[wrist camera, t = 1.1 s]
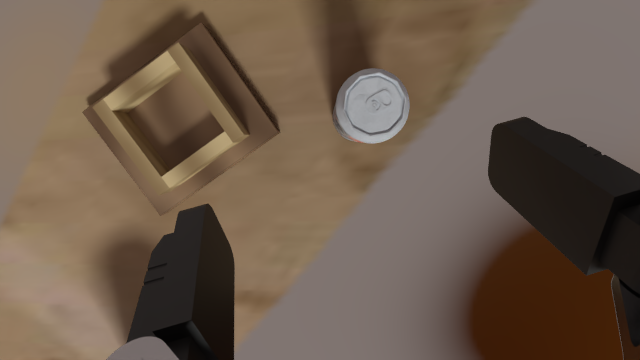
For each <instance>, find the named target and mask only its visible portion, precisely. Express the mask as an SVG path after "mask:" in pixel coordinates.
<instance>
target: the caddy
mask: <svg viewBox="0 0 640 360" xmlns="http://www.w3.org/2000/svg"><path fill="white" fill-rule="evenodd" d="M82 113H83V114H84V115H85V117H86V118H87V119H88V121H89V122H90V123H91V125H92V126H93V127H94V128H95V130H96V131H97V132H98V134H99V135H100V136H101V138H102V139H103V140H104V142H105V143H106V144H107V146H108V147H109V148H110V150H111V151H112V152H113V154H114V155H115V156H116V158H117V159H118V160H119V162H120V163H121V164H122V166H123V167H124V168H125V170H126V171H127V172H128V174H129V175H130V176H131V177H132V179H133V180H134V181H135V183H136V184H137V185H138V187H139V188H140V189H141V191H142V192H143V193H144V195H145V196H146V197H147V199H148V200H149V201H150V203H151V204H152V205H153V207H154V208H155V209H156V211H157V212H158V213H159V215H160V216H161V215H163V214H165V213H167V212H168V211H170V210H171V209H173V208H174V207H176V206H177V205H178V204H180V203H181V202H183V201H184V200H185V199H187V198H188V197H190V196H191V195H192V194H194V193H195V192H197V191H198V190H200V189H201V188H202V187H204V186H205V185H207V184H208V183H209V182H211V181H212V180H214V179H215V178H216V177H218V176H219V175H221V174H222V173H224V172H225V171H226V170H228V169H229V168H231V167H232V166H233V165H235V164H236V163H238V162H239V161H240V160H242V159H243V158H245V157H246V156H248V155H249V154H250V153H252V152H253V151H255V150H256V149H257V148H259V147H260V146H262V145H263V144H264V143H266V142H267V141H269V140H270V139H272V138H273V137H274V136H276V135H277V134H279V133H280V132H279V130H278V129H277V128H276V126H275V125H274V123H273V122H272V120H271V119H270V118H269V116H268V115H267V113H266V112H265V110H264V109H263V108H262V106H261V105H260V103H259V102H258V100H257V99H256V98H255V96H254V95H253V93H252V92H251V90H250V89H249V88H248V86H247V85H246V83H245V82H244V80H243V79H242V78H241V76H240V75H239V73H238V72H237V70H236V69H235V68H234V66H233V65H232V63H231V62H230V60H229V59H228V58H227V56H226V55H225V53H224V52H223V50H222V49H221V48H220V46H219V45H218V43H217V42H216V40H215V39H214V38H213V36H212V35H211V33H210V32H209V30H208V29H207V28H206V26H205V25H204V24H203V23H202V22H201V23H199V24H198V25H197V26H195V27H194V28H193V29H191V30H190V31H189V32H187V33H186V34H185V35H183V36H182V37H181V38H179V39H178V40H177V41H176V42H174V43H173V44H172V45H170V46H169V47H168V48H166V49H165V50H164V51H162V52H161V53H160V54H158V55H157V56H156V57H154V58H153V59H152V60H150V61H149V62H148V63H146V64H145V65H144V66H142V67H141V68H140V69H139V70H137V71H136V72H135V73H133V74H132V75H131V76H129V77H128V78H127V79H125V80H124V81H123V82H121V83H120V84H119V85H117V86H116V87H115V88H113V89H112V90H111V91H109V92H108V93H107V94H105V95H104V96H103V97H101V98H100V99H99V100H98V101H96V102H95V103H94V104H92V105H91V106H90V107H88V108H87V109H86V110H84V111H83V112H82Z"/></svg>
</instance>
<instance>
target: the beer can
mask: <svg viewBox="0 0 640 360" xmlns="http://www.w3.org/2000/svg"><path fill="white" fill-rule="evenodd" d="M409 108H410V104H409V96H408V93H407V90H406V88H405V86H404V85H403V83H402V82H401V81H400V80H399V79H398V78H397V77H396V76H395V75H394V74H392V73H390V72H388V71H385V70H382V69H376V68H370V69H364V70H361V71H359V72H357V73H355V74H353V75H352V76H350V77H349V78H348V79H347V80H346V81H345V82H344V83H343V85H342V86H341V88H340V90H339V92H338V95H337V100H336V104H335V107H334V110H333V123H334V125H335V128H336V129H337V131H338V132H339V134H340V135H341V136H343V137H344V138H346V139H348V140H351V141H355V142H362V143H379V142H383V141H386V140H388V139H390V138H391V137H393V136H394V135H396V134H397V133H398V132H399V131H400V130H401V129H402V127H403V126H404V124H405V122H406V120H407V118H408V113H409Z"/></svg>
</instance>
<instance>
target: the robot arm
mask: <svg viewBox="0 0 640 360" xmlns="http://www.w3.org/2000/svg"><path fill="white" fill-rule="evenodd" d="M488 176H489V180H490V183H491V185H492V187H493V188H494V190H495V191H496V192H497V193H498V194H499V195H500V196H501V197H502V198H503V199H504V200H506V201H507V202H508V203H509V204H510V205H511V206H512V207H513V208H514V209H515V210H516V211H518V212H519V213H520V214H521V215H522V216H523V217H524V218H525V219H526V220H527V221H528V222H529V223H530V224H531V225H532V226H534V227H535V228H536V229H537V230H538V231H539V232H540V233H541V234H542V235H543V236H544V237H545V238H547V239H548V240H549V241H550V242H551V243H552V244H553V245H554V246H555V247H556V248H557V249H558V250H560V251H561V252H562V253H563V254H564V255H565V256H566V257H567V258H568V259H569V260H570V261H571V262H572V263H573V264H575V265H576V266H577V267H578V268H579V269H580V270H581V271H582V272H583V273H584V274H585V275H589V274H593V273H596V272H599V271H602V270H606V269H609V270H610V271H611V272H612V273H614V276H613V279H612V282H611V287H612V293H613V299H614V304H615V310H616V316H617V321H618V327H619V332H620V338H621V344H622V350H623V360H640V174H639V173H637V172H635V171H633V170H632V169H630V168H628V167H626V166H624V165H623V164H621V163H619V162H617V161H615V160H614V159H612V158H610V157H608V156H606V155H602V154H601V152H599V151H597V150H596V149H594V148H592V147H587V145H586V144H585V143H583V142H581V141H579V140H577V139H576V138H574V137H572V136H570V135H567V134H564V133H561V132H557V131H554V130H550V129H547V128H545V127H543V126H542V125H540V124H538V123H536V122H535V121H533V120H531V119H529V118H527V117H521V118H518V119H514V120H510V121H507V122H503V123H500V124H497V125H495V126H494V128H493V130H492V135H491V146H490V156H489V166H488ZM106 360H234V258H233V253H232V250H231V247H230V244H229V242H228V240H227V238H226V236H225V234H224V232H223V229H222V227H221V225H220V223H219V221H218V219H217V217H216V215H215V213H214V211H213V209H212V207H211V206H210V205H209V204H204V205H201V206H197V207H194V208H190V209H186V210H183V211H180V212H179V213H178V217H177V221H176V226H175V230H174V233H171V234H167V235H164V236H163V238H162V239H161V240H160V242H159V243H158V244H157V246H156V247H155V249H154V250H153V251H152V254H151V258H150V261H149V265H148V272H146V276H145V279H144V286H142V290H141V294H140V297H139V301H138V304H137V308H136V311H135V315H134V319H133V322H132V326H131V329H130V333H129V336H128V340H127V343H126V344H125V345H123V346H121V347H120V348H119V349H117V350H116V351H115V352H114V353H112V354H111V355H110V356H109V357H108V358H107V359H106Z"/></svg>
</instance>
